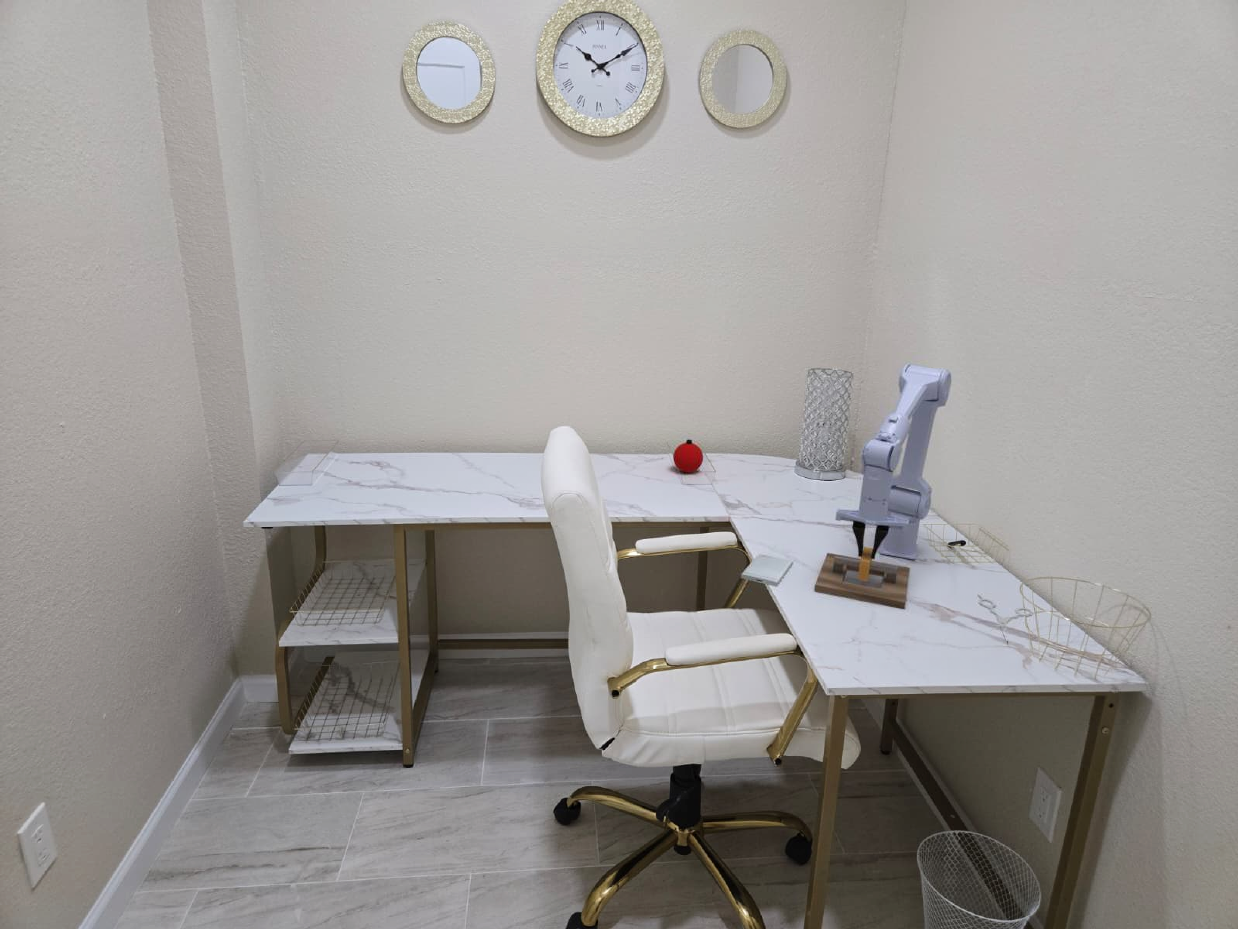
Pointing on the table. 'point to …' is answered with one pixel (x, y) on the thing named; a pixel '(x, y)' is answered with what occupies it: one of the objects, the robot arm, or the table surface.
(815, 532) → the table surface
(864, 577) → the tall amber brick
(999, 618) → the scissors
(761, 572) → the hard drive
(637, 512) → the table surface
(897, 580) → the brown wooden frame
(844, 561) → the hook bar
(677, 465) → the ornament
